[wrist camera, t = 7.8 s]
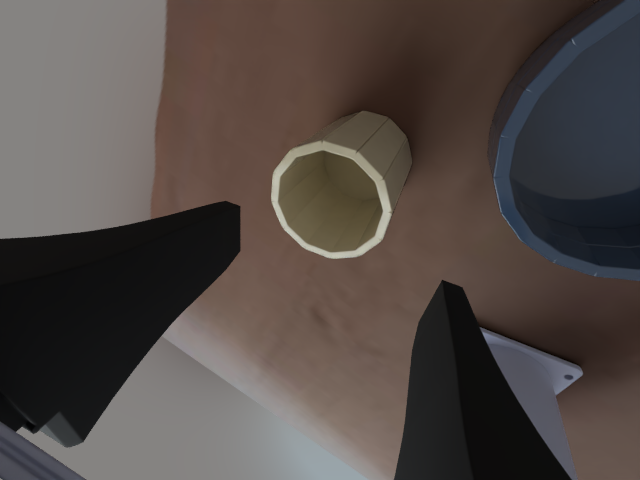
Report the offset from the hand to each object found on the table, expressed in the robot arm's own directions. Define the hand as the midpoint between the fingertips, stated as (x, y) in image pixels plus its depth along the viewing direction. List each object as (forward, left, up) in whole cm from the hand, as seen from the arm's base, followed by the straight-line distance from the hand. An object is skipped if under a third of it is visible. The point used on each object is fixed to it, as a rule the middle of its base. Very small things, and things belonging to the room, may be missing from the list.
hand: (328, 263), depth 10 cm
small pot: (0, +1, -10) cm, 10 cm away
